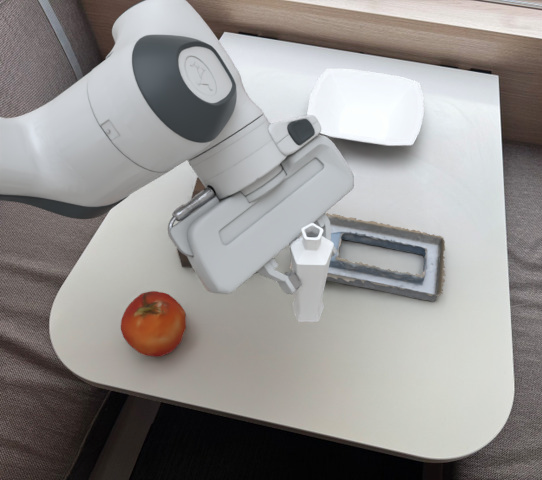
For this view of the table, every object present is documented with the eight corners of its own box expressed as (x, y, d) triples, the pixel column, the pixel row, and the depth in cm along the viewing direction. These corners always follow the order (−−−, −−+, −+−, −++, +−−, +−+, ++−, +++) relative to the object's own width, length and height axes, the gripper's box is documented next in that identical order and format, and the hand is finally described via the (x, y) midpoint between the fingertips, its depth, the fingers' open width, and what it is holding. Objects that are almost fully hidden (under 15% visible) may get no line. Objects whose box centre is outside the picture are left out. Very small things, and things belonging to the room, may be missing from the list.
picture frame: (304, 219, 93) (305, 208, 91) (444, 242, 91) (448, 232, 89) (288, 280, 85) (288, 270, 82) (441, 307, 83) (445, 297, 80)
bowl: (415, 171, 101) (420, 150, 97) (298, 153, 103) (298, 131, 99) (421, 101, 115) (427, 79, 110) (318, 86, 117) (319, 63, 112)
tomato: (175, 371, 74) (164, 346, 68) (116, 354, 76) (100, 328, 69) (201, 317, 80) (193, 289, 74) (146, 301, 81) (134, 273, 75)
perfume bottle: (295, 288, 64) (297, 208, 52) (329, 298, 64) (338, 220, 52) (282, 319, 62) (281, 242, 50) (317, 330, 61) (324, 255, 49)
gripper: (169, 218, 44) (257, 341, 48) (325, 108, 54) (387, 217, 58) (147, 224, 49) (228, 334, 53) (293, 122, 59) (352, 222, 63)
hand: (312, 272), depth 56 cm, fingers closed on perfume bottle, 4 cm apart
